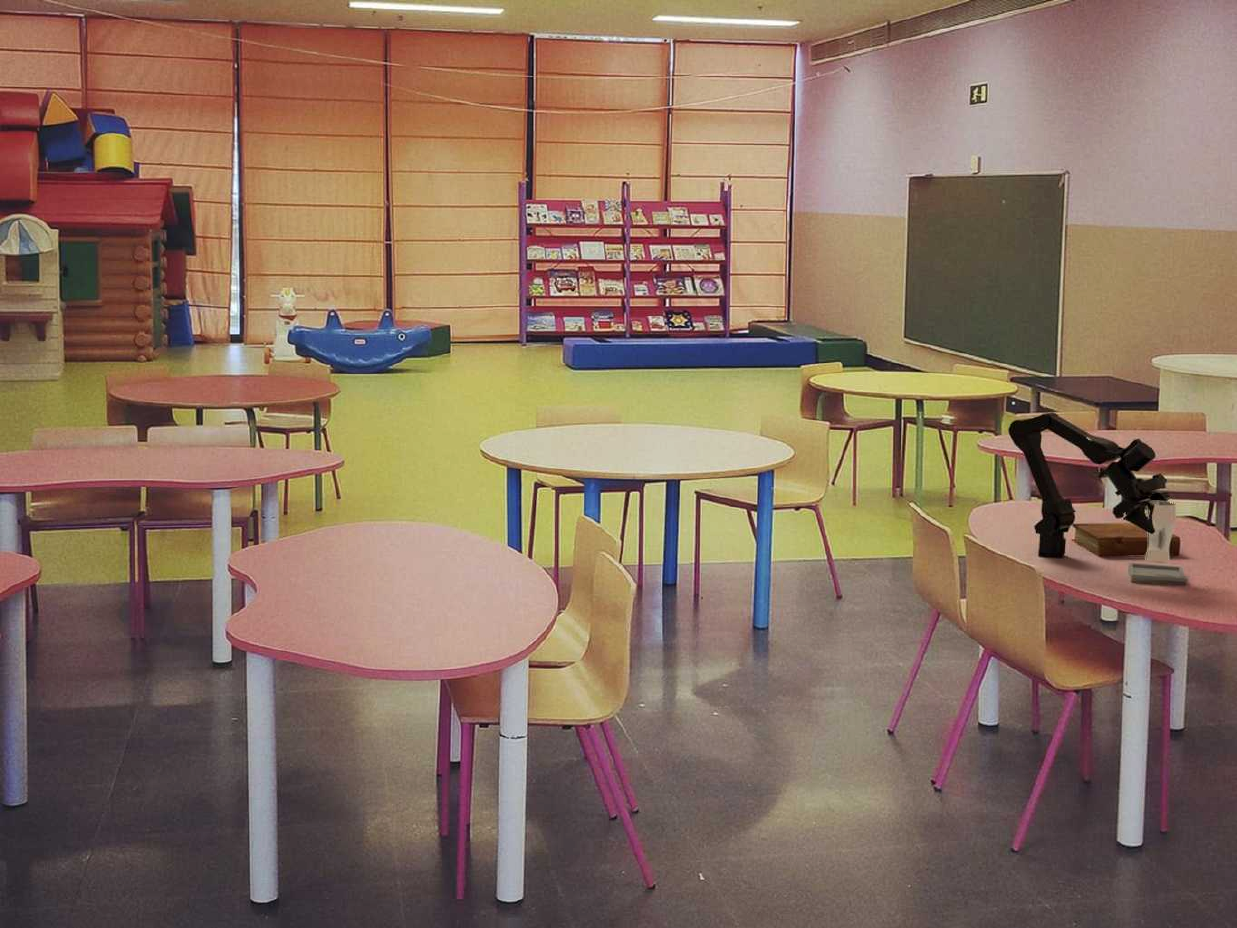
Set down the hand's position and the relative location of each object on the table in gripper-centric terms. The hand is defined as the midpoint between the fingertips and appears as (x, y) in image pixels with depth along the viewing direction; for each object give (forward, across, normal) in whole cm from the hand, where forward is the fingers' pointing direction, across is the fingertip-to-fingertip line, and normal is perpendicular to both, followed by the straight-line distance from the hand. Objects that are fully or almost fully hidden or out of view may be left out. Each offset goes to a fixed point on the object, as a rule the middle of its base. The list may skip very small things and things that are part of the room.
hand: (1160, 531), depth 355 cm
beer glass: (+5, 0, +6) cm, 8 cm away
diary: (-7, +24, +26) cm, 36 cm away
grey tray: (+9, 0, +9) cm, 12 cm away
